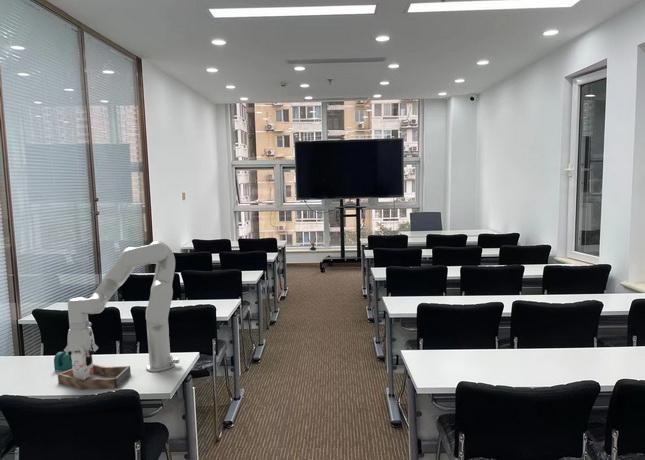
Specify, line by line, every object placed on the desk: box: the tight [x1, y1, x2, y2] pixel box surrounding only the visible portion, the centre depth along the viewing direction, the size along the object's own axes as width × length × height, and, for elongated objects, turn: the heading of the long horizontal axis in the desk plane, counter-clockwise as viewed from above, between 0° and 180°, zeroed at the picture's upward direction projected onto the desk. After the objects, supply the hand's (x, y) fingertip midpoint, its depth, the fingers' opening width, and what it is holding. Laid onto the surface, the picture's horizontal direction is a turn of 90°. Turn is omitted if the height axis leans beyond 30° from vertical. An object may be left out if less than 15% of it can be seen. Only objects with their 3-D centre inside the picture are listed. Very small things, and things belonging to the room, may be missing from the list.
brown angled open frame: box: [57, 363, 132, 391], centre depth 204 cm, size 30×21×4 cm
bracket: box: [53, 351, 73, 372], centre depth 225 cm, size 18×7×8 cm, turn 171°
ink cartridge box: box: [71, 346, 94, 380], centre depth 204 cm, size 9×5×15 cm, turn 179°
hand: (82, 364), depth 205 cm, fingers closed on ink cartridge box, 5 cm apart
